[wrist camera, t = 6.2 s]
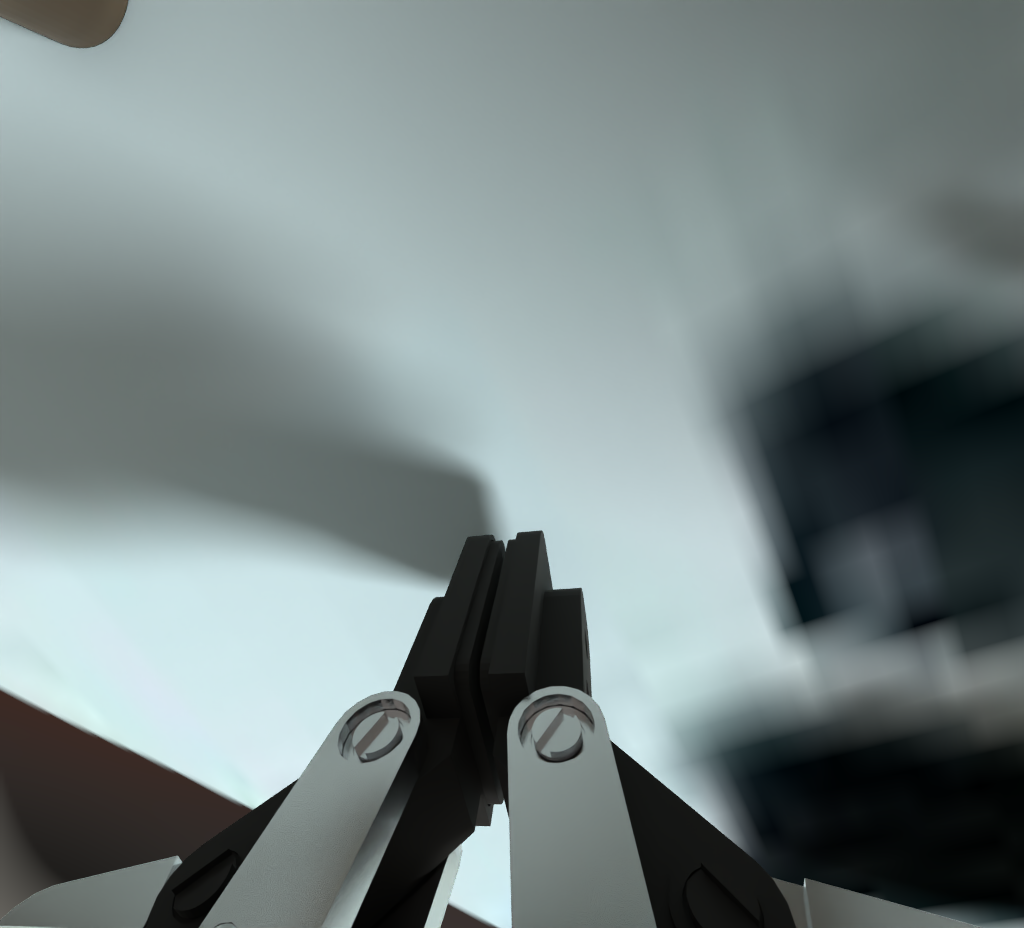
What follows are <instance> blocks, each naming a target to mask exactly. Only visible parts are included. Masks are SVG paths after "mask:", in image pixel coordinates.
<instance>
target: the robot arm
mask: <svg viewBox="0 0 1024 928" xmlns="http://www.w3.org/2000/svg"><path fill="white" fill-rule="evenodd" d="M503 800H504V801H505V804H506V808H507V812H508V816H509V830H510V872H511V913H512V928H982V927H978V926H975V925H971V924H968V923H964V922H960V921H957V920H953V919H950V918H946V917H942V916H939V915H935V914H932V913H928V912H924V911H921V910H917V909H914V908H910V907H906V906H903V905H899V904H896V903H892V902H889V901H885V900H881V899H878V898H874V897H871V896H867V895H863V894H860V893H856V892H853V891H849V890H845V889H842V888H838V887H835V886H831V885H827V884H824V883H820V882H817V881H813V880H809V879H806V878H805V879H804V887H803V886H799V885H796V884H792V883H789V882H785V881H782V880H778V879H775V878H771V877H770V876H769V874H768V873H767V872H766V871H765V870H764V869H763V868H762V867H761V866H760V865H759V864H758V863H757V862H756V861H755V860H754V859H753V858H751V857H750V856H749V855H748V854H747V853H745V852H744V851H743V850H742V849H741V848H739V847H738V846H737V845H736V844H735V843H733V842H732V841H731V840H730V839H728V838H727V837H726V836H725V835H724V834H722V833H721V832H720V831H719V830H718V829H716V828H715V827H714V826H713V825H712V824H710V823H709V822H708V821H707V820H706V819H704V818H703V817H702V816H701V815H700V814H698V813H697V812H696V811H695V810H694V809H692V808H691V807H690V806H689V805H688V804H686V803H685V802H684V801H683V800H682V799H680V798H679V797H678V796H677V795H676V794H674V793H673V792H672V791H671V790H670V789H668V788H667V787H666V786H665V785H664V784H662V783H661V782H660V781H659V780H658V779H656V778H655V777H654V776H653V775H651V774H650V773H649V772H648V771H647V770H645V769H644V768H643V767H642V766H641V765H639V764H638V763H637V762H636V761H635V760H633V759H632V758H631V757H630V756H629V755H627V754H626V753H625V752H624V751H623V750H621V749H620V748H619V747H618V746H617V745H615V744H614V743H613V742H612V741H611V740H610V738H609V734H608V730H607V726H606V721H605V718H604V716H603V713H602V711H601V709H600V707H599V705H598V704H597V703H596V702H595V701H594V700H593V699H592V694H591V672H590V653H589V640H588V630H587V621H586V613H585V606H584V598H583V592H582V588H573V589H557V590H553V588H552V581H551V575H550V569H549V563H548V557H547V551H546V544H545V539H544V534H543V531H531V532H519V533H517V536H516V539H513V540H509V541H508V544H507V548H506V552H505V547H504V543H503V541H502V540H501V541H495V538H494V536H493V535H484V536H473V537H468V538H467V540H466V542H465V545H464V547H463V550H462V553H461V555H460V558H459V560H458V563H457V565H456V568H455V571H454V573H453V576H452V578H451V581H450V583H449V586H448V589H447V591H446V594H445V596H444V597H436V598H434V599H433V600H432V602H431V603H430V605H429V608H428V610H427V613H426V615H425V617H424V620H423V622H422V624H421V627H420V629H419V632H418V634H417V636H416V639H415V641H414V643H413V646H412V648H411V650H410V653H409V655H408V658H407V660H406V662H405V665H404V667H403V669H402V672H401V674H400V677H399V679H398V681H397V684H396V686H395V688H394V691H386V692H381V693H377V694H374V695H371V696H369V697H367V698H365V699H363V700H361V701H359V702H357V703H356V704H355V705H354V706H352V707H351V708H350V709H349V710H347V711H346V712H345V713H344V715H343V716H342V717H341V718H340V719H339V721H338V722H337V723H336V724H335V726H334V727H333V729H332V730H331V732H330V733H329V735H328V736H327V738H326V739H325V741H324V742H323V744H322V745H321V747H320V748H319V750H318V751H317V753H316V754H315V756H314V757H313V759H312V760H311V761H310V763H309V764H308V766H307V767H306V769H305V770H304V772H303V773H302V775H301V776H300V778H299V779H297V780H296V781H294V782H293V783H292V784H290V785H289V786H287V787H286V788H284V789H283V790H281V791H280V792H278V793H277V794H276V795H274V796H273V797H271V798H270V799H268V800H267V801H265V802H264V803H263V804H261V805H260V806H258V807H257V808H255V809H254V810H252V811H251V812H250V813H248V814H247V815H245V816H244V817H242V818H241V819H239V820H238V821H236V822H235V823H233V824H232V825H231V826H229V827H228V828H226V829H225V830H223V831H222V832H220V833H219V834H218V835H216V836H215V837H213V838H212V839H210V840H209V841H207V842H206V843H205V844H203V845H202V846H201V847H199V848H198V849H197V850H196V851H195V852H193V853H192V854H191V855H190V856H188V857H187V858H186V859H185V860H184V861H183V862H181V860H180V859H179V857H178V856H175V857H171V858H166V859H162V860H158V861H154V862H150V863H146V864H141V865H137V866H133V867H129V868H125V869H121V870H116V871H112V872H108V873H104V874H100V875H96V876H92V877H87V878H84V879H79V880H75V881H71V882H67V883H62V884H59V885H55V886H52V887H50V888H47V889H45V890H42V891H40V892H37V893H35V894H34V895H32V896H31V897H29V898H28V899H26V900H25V901H24V902H22V903H20V904H19V905H17V906H16V907H14V908H13V909H12V910H11V911H10V912H9V913H8V914H6V915H5V916H4V917H3V918H2V919H1V920H0V928H440V926H441V923H442V920H443V917H444V914H445V910H446V907H447V904H448V901H449V898H450V895H451V891H452V888H453V885H454V882H455V879H456V875H457V872H458V869H459V866H460V860H461V855H462V843H463V842H464V841H465V840H466V839H467V838H468V837H469V836H470V835H471V834H472V833H473V832H474V831H475V826H490V825H491V819H492V812H493V805H494V804H502V803H503Z"/></svg>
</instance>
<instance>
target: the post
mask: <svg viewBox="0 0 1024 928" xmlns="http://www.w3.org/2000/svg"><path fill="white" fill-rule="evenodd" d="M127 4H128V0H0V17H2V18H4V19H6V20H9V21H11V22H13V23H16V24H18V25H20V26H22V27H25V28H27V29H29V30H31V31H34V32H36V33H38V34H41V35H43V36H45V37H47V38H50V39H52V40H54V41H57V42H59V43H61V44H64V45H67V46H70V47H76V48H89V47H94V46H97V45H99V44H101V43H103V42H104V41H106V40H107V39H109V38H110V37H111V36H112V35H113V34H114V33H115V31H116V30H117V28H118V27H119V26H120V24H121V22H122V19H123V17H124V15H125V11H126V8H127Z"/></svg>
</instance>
